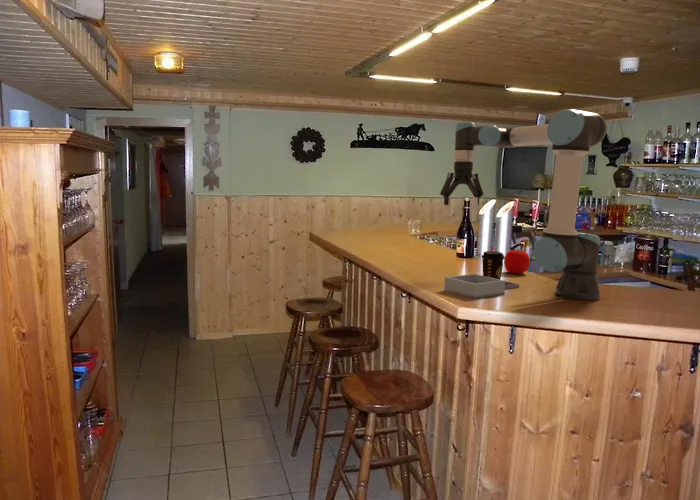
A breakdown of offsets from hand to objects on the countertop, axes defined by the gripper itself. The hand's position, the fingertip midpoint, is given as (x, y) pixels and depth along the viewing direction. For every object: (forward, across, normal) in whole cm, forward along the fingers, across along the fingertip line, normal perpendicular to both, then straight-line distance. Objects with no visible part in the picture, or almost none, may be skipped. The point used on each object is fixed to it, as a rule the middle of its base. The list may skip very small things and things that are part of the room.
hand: (461, 213), depth 225 cm
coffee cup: (+27, 0, +21) cm, 34 cm away
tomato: (+27, -29, +2) cm, 40 cm away
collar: (+27, 0, +21) cm, 34 cm away
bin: (+27, +15, +29) cm, 42 cm away
